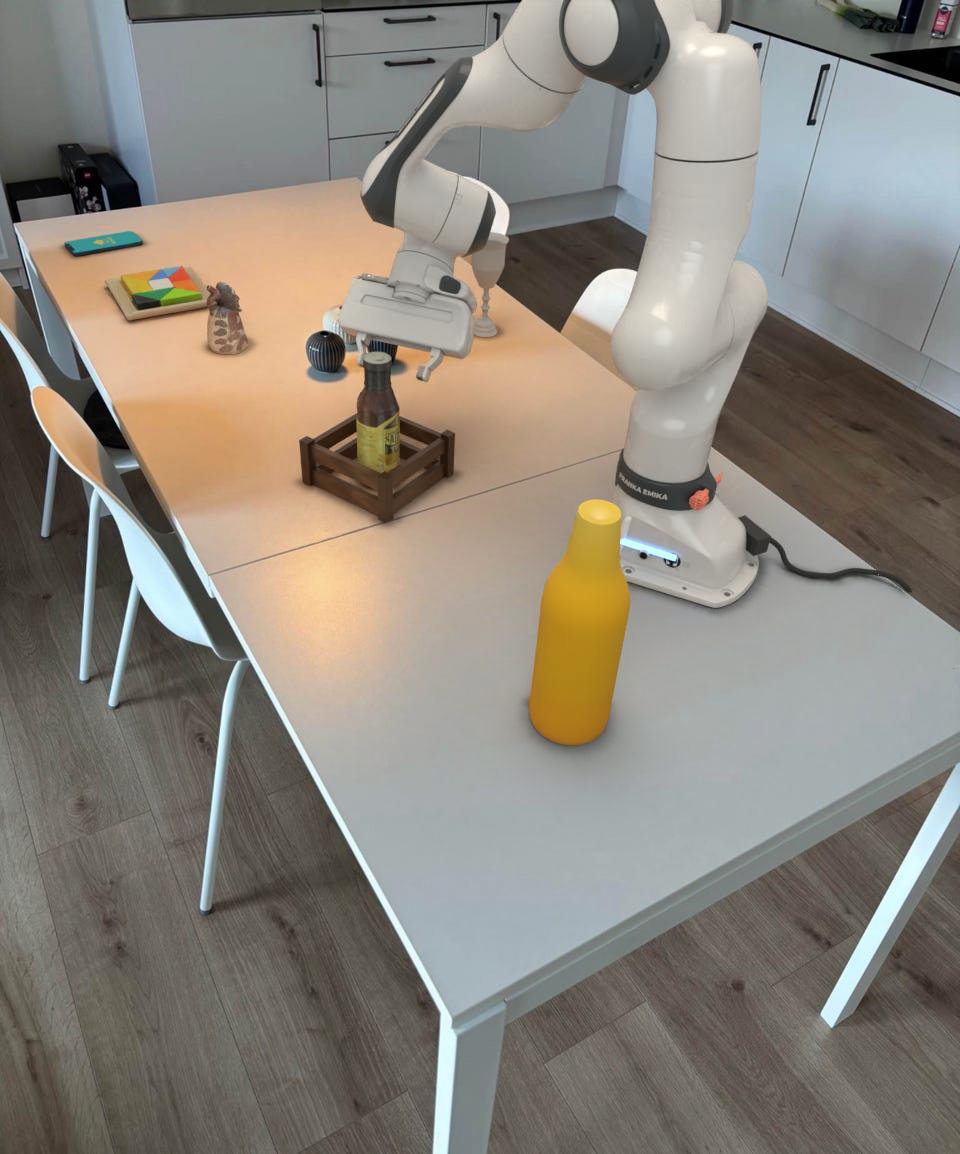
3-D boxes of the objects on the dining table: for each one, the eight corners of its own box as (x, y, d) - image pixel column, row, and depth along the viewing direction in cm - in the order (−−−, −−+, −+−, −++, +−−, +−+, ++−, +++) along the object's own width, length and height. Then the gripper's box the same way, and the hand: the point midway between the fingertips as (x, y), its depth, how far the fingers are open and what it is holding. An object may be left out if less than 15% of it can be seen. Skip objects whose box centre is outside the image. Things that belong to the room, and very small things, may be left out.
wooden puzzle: (130, 324, 183) (126, 307, 181) (104, 287, 195) (101, 270, 193) (220, 308, 190) (218, 291, 188) (190, 273, 203) (187, 256, 200)
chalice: (496, 321, 192) (501, 230, 180) (507, 337, 187) (514, 244, 175) (460, 325, 190) (464, 233, 178) (471, 340, 185) (475, 247, 173)
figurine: (253, 351, 177) (246, 287, 170) (214, 357, 175) (205, 293, 167) (242, 334, 182) (235, 272, 174) (204, 340, 180) (195, 277, 172)
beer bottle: (529, 747, 108) (554, 539, 90) (526, 686, 115) (548, 482, 97) (612, 749, 108) (654, 542, 90) (603, 689, 115) (641, 486, 97)
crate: (453, 474, 149) (455, 432, 145) (386, 523, 139) (385, 479, 134) (372, 438, 156) (371, 397, 151) (302, 482, 146) (298, 440, 141)
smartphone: (143, 240, 213) (74, 252, 205) (144, 244, 213) (74, 256, 206) (131, 230, 217) (63, 241, 210) (132, 233, 218) (63, 245, 210)
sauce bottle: (393, 493, 145) (392, 372, 132) (352, 487, 145) (347, 366, 133) (404, 470, 150) (404, 351, 137) (365, 464, 150) (361, 345, 138)
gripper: (347, 261, 142) (319, 351, 141) (478, 287, 137) (451, 380, 136) (361, 280, 148) (335, 366, 147) (487, 306, 143) (461, 394, 142)
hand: (391, 373), depth 141 cm, fingers open, 8 cm apart
